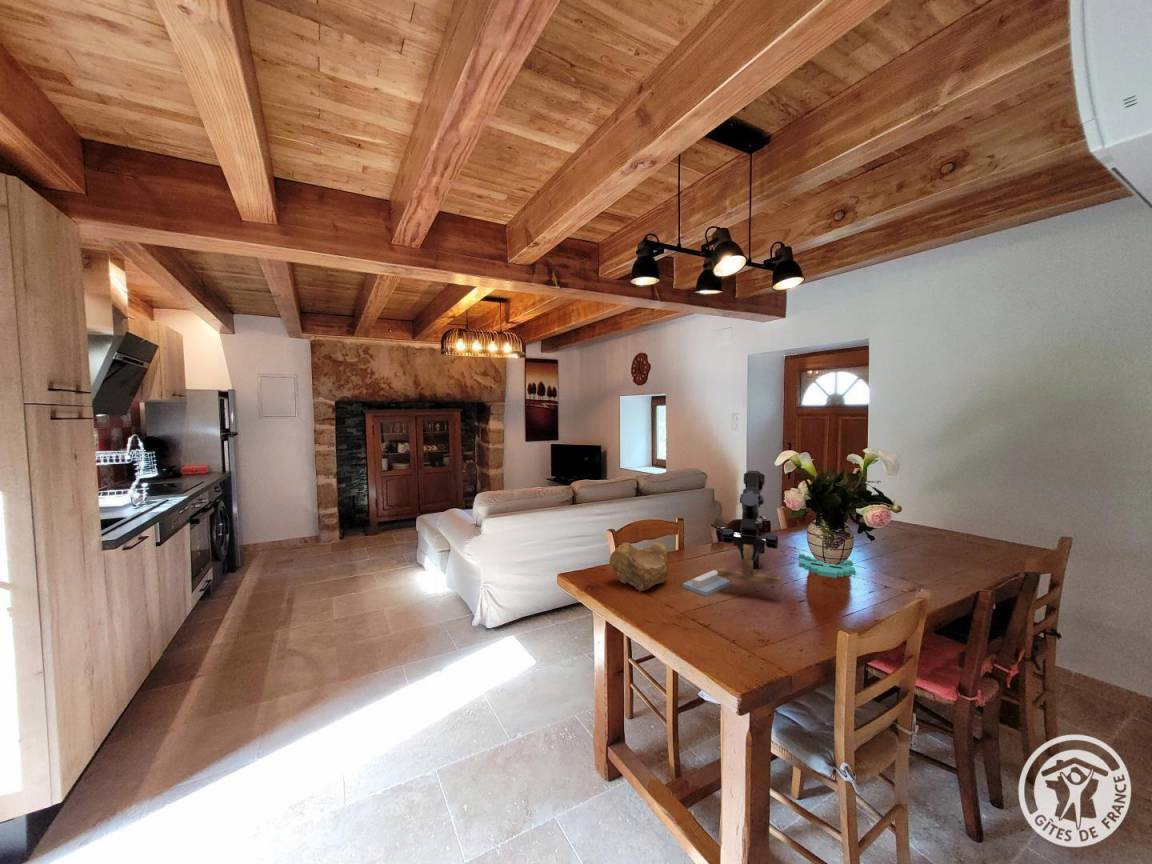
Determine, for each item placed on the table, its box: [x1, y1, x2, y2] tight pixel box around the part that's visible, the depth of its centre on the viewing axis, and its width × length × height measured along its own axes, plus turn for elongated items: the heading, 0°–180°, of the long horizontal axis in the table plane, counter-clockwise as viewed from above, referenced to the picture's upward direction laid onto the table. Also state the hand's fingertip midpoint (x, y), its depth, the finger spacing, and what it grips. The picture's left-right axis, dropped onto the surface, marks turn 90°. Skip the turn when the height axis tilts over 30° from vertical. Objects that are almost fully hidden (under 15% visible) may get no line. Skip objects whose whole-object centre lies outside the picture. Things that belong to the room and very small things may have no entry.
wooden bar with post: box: [717, 544, 780, 586], centre depth 150 cm, size 20×3×12 cm, turn 65°
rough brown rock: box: [609, 542, 669, 592], centre depth 160 cm, size 23×17×15 cm
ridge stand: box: [682, 569, 732, 597], centre depth 159 cm, size 16×10×4 cm, turn 130°
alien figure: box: [798, 553, 856, 579], centre depth 177 cm, size 20×2×20 cm
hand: (747, 560), depth 148 cm, fingers closed on wooden bar with post, 3 cm apart
